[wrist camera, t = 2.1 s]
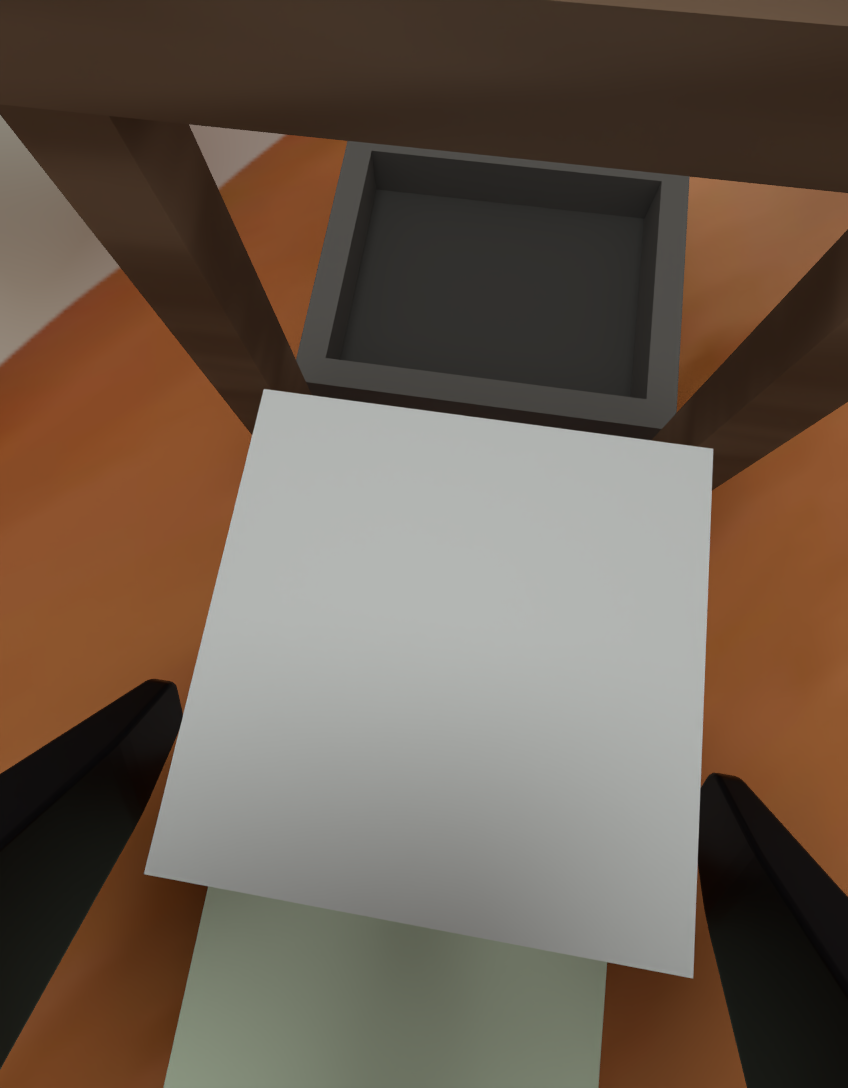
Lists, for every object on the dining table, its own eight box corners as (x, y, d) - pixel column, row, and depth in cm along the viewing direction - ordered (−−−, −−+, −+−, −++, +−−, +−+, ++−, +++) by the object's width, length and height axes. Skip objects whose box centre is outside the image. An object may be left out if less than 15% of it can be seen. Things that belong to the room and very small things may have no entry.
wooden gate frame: (623, 893, 16) (2166, 2748, 2) (212, 818, 17) (-1087, 1678, 3) (649, 493, 19) (1315, -61, 5) (297, 444, 20) (-79, -165, 5)
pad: (576, 1308, 14) (581, 1331, 14) (142, 1209, 15) (132, 1227, 14) (602, 945, 16) (607, 954, 16) (216, 872, 17) (209, 878, 16)
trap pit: (651, 454, 20) (675, 430, 18) (305, 407, 20) (291, 379, 18) (667, 207, 22) (690, 162, 20) (358, 173, 23) (350, 127, 21)
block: (520, 769, 17) (693, 977, 6) (338, 738, 18) (144, 873, 6) (539, 587, 19) (713, 449, 7) (370, 562, 19) (263, 388, 7)
